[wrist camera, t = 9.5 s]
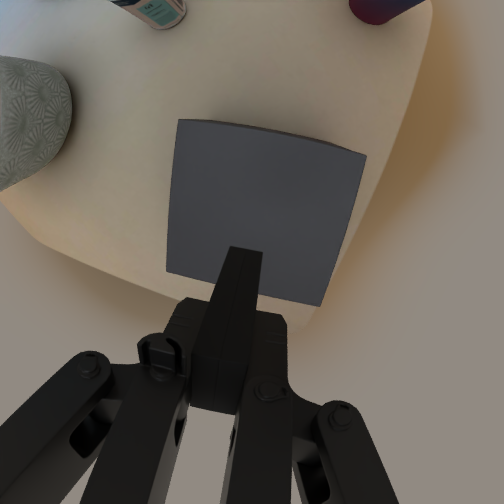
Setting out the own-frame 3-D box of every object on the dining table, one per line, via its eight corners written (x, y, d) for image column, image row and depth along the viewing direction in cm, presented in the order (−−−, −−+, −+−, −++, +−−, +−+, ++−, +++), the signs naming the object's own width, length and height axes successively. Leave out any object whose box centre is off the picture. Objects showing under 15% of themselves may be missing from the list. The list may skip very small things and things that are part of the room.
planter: (112, 90, 26) (21, 86, 13) (59, 194, 33) (-17, 236, 19) (46, 44, 23) (-31, 38, 9) (5, 138, 29) (-65, 160, 15)
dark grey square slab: (364, 154, 19) (367, 155, 18) (319, 302, 25) (320, 307, 25) (182, 119, 20) (178, 119, 19) (169, 267, 26) (165, 272, 25)
